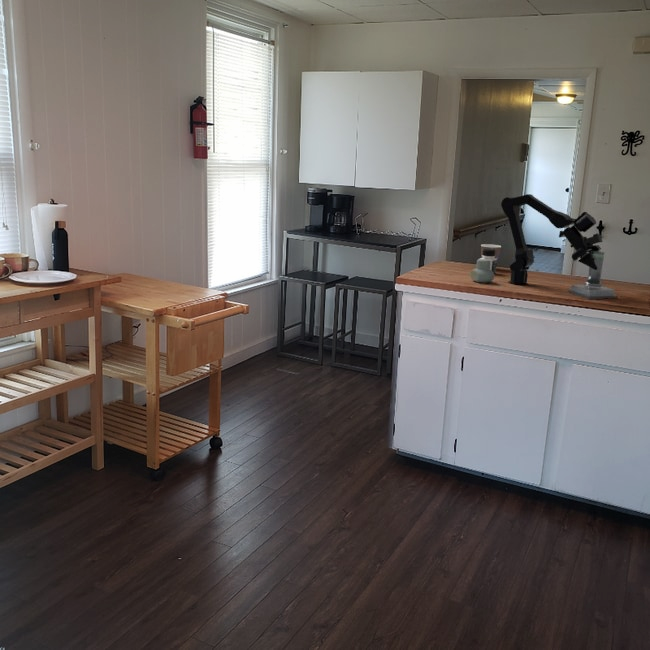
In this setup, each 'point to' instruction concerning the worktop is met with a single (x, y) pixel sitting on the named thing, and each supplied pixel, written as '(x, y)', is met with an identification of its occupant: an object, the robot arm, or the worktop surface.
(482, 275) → the air freshener
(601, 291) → the metal stand
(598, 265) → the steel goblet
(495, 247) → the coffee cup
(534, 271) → the worktop surface
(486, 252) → the medicine bottle
